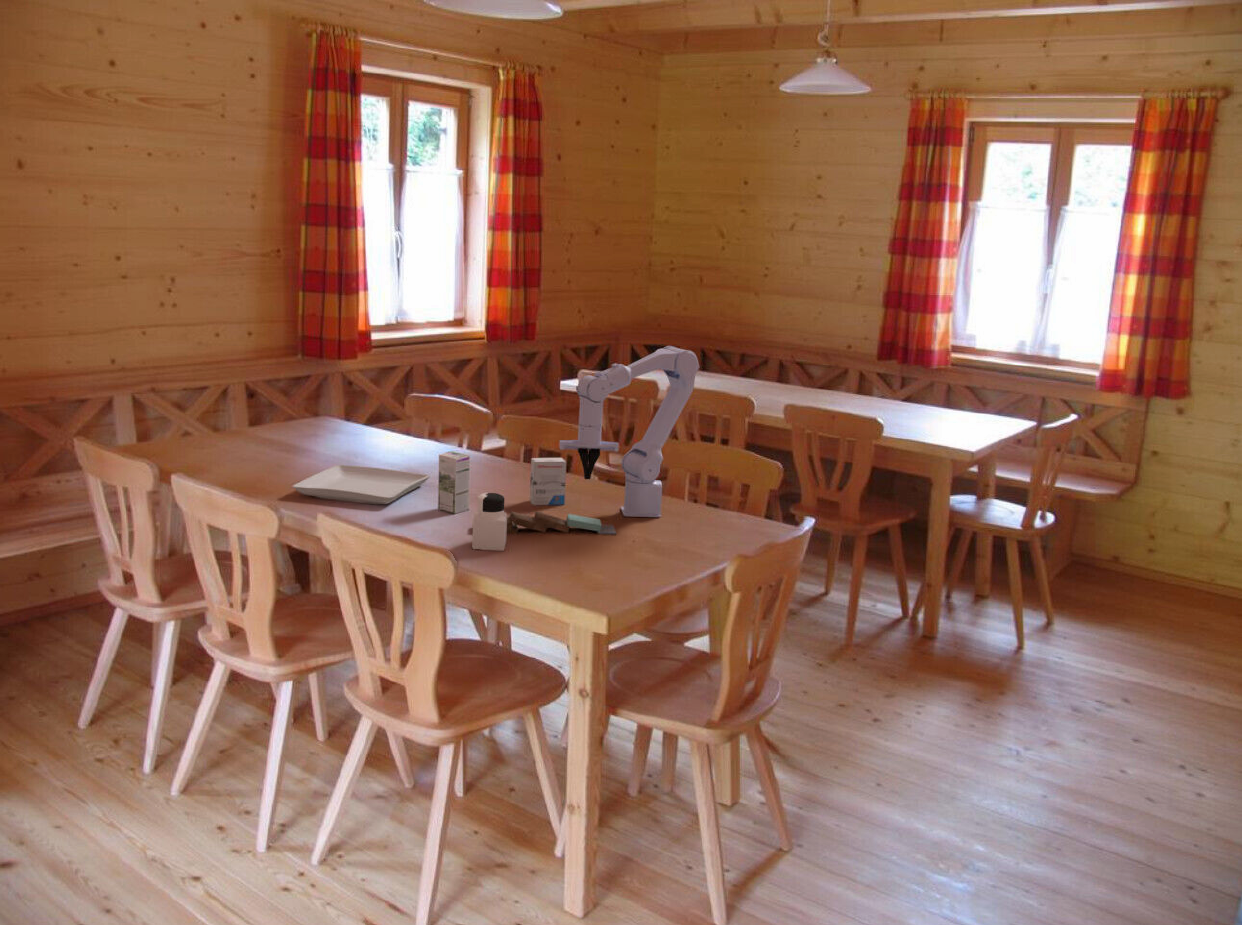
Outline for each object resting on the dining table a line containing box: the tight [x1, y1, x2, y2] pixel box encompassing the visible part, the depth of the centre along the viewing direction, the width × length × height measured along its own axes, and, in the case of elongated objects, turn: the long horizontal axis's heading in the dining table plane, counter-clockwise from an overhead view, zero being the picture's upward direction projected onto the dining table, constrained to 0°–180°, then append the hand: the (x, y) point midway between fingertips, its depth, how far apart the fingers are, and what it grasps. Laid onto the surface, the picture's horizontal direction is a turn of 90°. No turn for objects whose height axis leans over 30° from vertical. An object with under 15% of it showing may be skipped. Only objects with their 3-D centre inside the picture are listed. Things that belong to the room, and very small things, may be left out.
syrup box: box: [437, 451, 471, 514], centre depth 274 cm, size 6×6×14 cm
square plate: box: [291, 464, 431, 505], centre depth 287 cm, size 27×27×4 cm
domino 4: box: [533, 510, 571, 534], centre depth 263 cm, size 2×5×8 cm
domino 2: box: [507, 522, 519, 533], centre depth 261 cm, size 2×5×8 cm
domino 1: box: [507, 516, 513, 529], centre depth 260 cm, size 2×5×8 cm
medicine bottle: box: [471, 492, 508, 552], centre depth 247 cm, size 7×7×12 cm
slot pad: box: [596, 524, 617, 536], centre depth 265 cm, size 4×7×1 cm, turn 7°
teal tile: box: [566, 513, 602, 532], centre depth 264 cm, size 2×5×8 cm
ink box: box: [529, 457, 567, 506], centre depth 286 cm, size 9×5×12 cm, turn 105°
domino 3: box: [508, 510, 548, 533], centre depth 261 cm, size 2×5×8 cm
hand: (587, 478), depth 272 cm, fingers closed
